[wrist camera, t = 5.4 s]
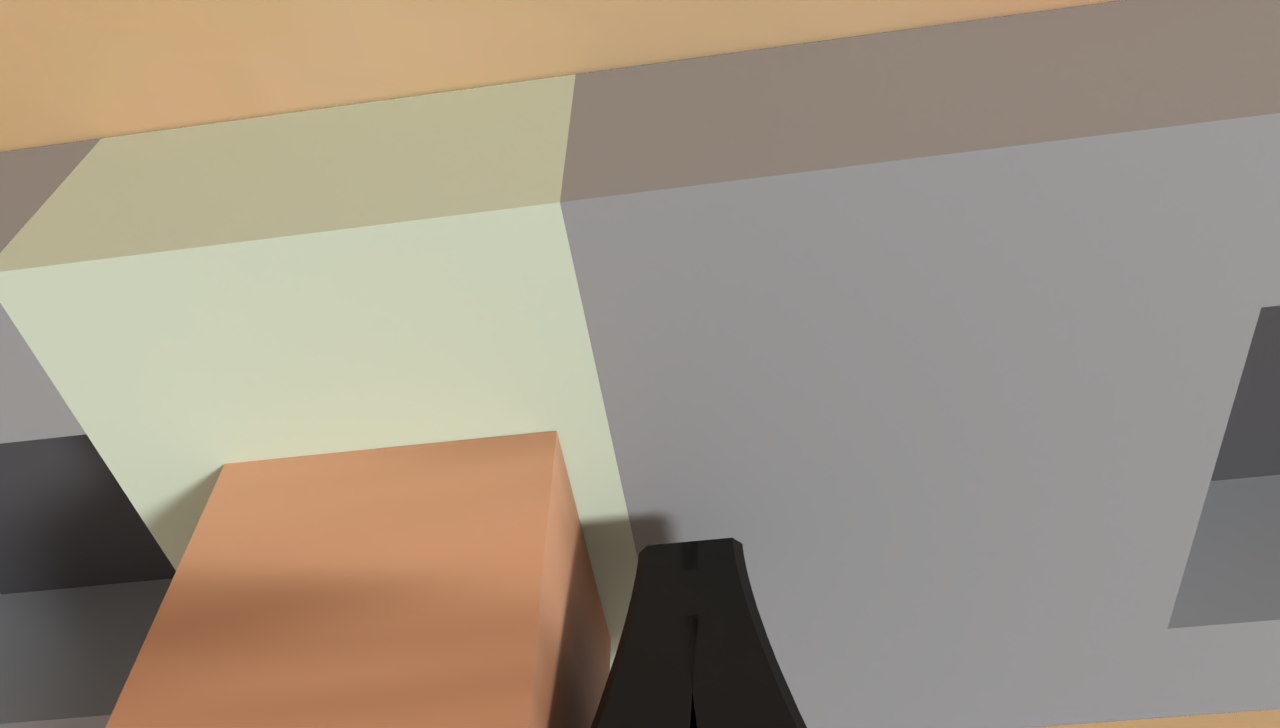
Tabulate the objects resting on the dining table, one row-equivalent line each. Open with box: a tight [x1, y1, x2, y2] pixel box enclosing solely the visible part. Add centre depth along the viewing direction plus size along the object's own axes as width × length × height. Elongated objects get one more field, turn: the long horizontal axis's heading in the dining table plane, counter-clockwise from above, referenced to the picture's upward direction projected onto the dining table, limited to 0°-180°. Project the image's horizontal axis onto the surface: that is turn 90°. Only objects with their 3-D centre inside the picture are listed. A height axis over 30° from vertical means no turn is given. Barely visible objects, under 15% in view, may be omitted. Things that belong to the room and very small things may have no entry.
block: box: [105, 431, 611, 728], centre depth 12 cm, size 4×4×4 cm
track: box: [0, 0, 1280, 728], centre depth 14 cm, size 10×26×3 cm, turn 98°
